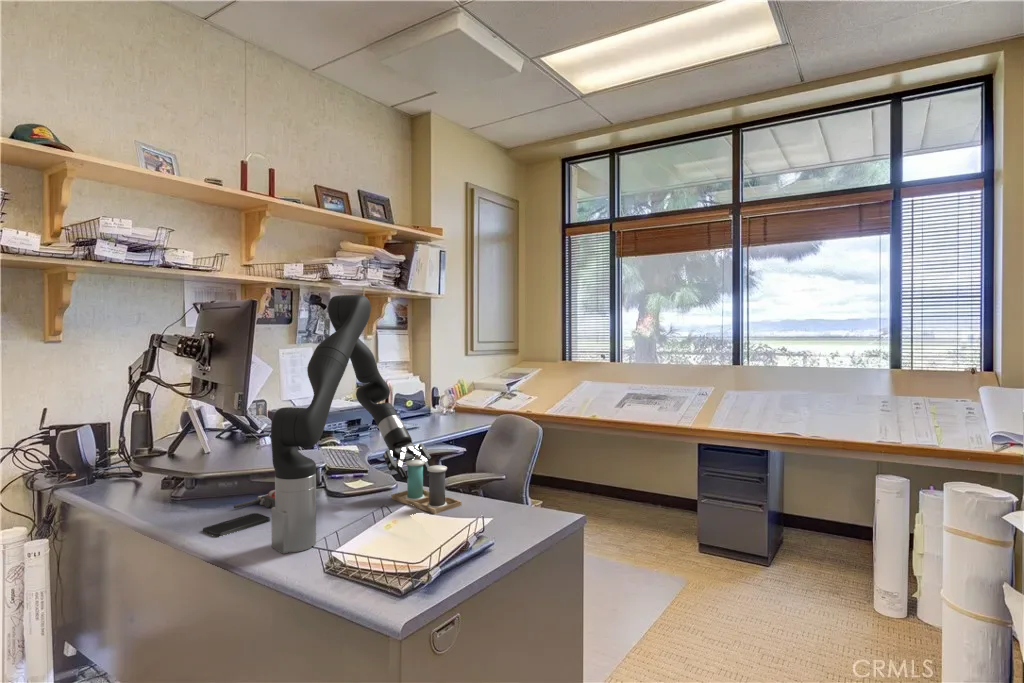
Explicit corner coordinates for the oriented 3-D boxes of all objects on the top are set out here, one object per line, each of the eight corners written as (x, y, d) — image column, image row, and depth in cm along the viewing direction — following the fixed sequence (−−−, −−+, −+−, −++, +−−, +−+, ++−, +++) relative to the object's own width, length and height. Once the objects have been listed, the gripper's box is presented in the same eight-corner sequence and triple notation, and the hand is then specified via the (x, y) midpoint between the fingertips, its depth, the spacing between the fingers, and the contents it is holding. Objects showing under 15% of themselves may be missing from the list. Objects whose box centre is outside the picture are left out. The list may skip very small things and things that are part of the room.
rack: (461, 510, 163) (461, 501, 162) (434, 519, 155) (434, 509, 155) (417, 496, 176) (417, 487, 176) (391, 503, 169) (391, 494, 168)
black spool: (435, 510, 158) (436, 471, 158) (423, 505, 162) (423, 467, 162) (450, 505, 162) (451, 467, 162) (438, 501, 166) (438, 464, 166)
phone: (272, 518, 153) (217, 534, 141) (271, 522, 153) (217, 539, 141) (255, 512, 157) (200, 528, 145) (255, 516, 157) (200, 532, 145)
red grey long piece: (293, 494, 178) (231, 511, 162) (293, 480, 178) (231, 495, 162) (310, 499, 173) (248, 517, 157) (310, 485, 173) (248, 501, 157)
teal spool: (413, 502, 165) (413, 465, 165) (401, 498, 169) (401, 461, 168) (428, 498, 169) (428, 461, 169) (416, 494, 173) (416, 458, 173)
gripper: (380, 429, 168) (403, 474, 161) (418, 423, 179) (441, 465, 171) (370, 444, 172) (392, 488, 165) (407, 437, 182) (430, 479, 175)
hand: (417, 476), depth 168 cm, fingers open, 8 cm apart
